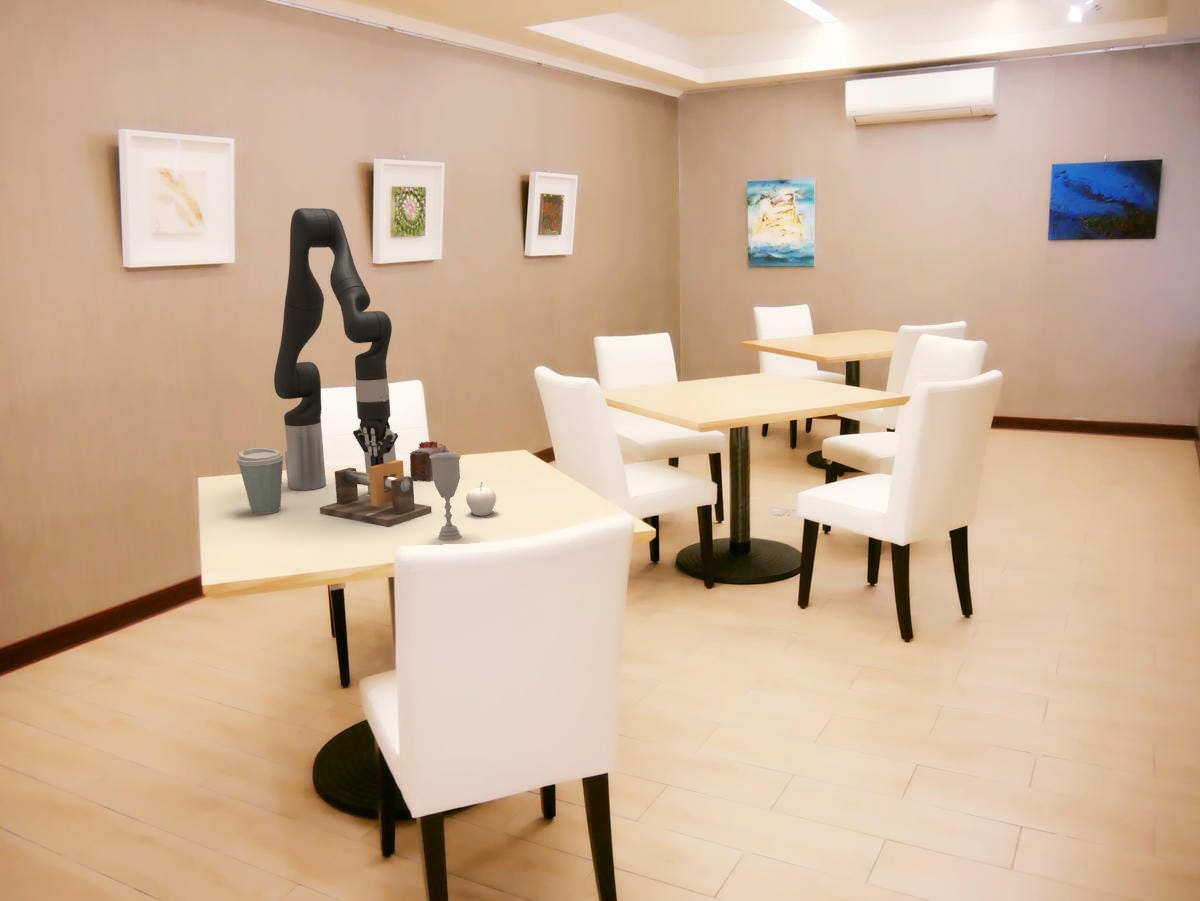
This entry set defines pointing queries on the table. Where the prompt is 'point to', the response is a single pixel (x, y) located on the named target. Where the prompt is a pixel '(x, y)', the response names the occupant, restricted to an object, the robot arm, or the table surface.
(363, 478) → the pipe
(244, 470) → the disposable coffee cup
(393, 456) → the skincare box
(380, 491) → the square ring
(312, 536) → the table surface
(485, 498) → the plain white apple
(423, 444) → the food item
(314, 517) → the table surface
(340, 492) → the pipe stand
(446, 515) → the chalice
